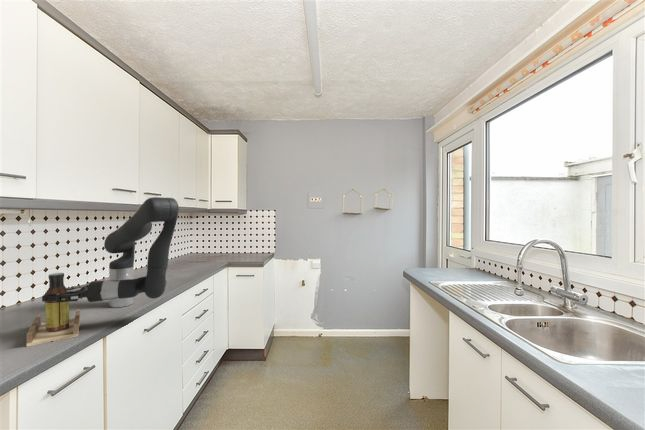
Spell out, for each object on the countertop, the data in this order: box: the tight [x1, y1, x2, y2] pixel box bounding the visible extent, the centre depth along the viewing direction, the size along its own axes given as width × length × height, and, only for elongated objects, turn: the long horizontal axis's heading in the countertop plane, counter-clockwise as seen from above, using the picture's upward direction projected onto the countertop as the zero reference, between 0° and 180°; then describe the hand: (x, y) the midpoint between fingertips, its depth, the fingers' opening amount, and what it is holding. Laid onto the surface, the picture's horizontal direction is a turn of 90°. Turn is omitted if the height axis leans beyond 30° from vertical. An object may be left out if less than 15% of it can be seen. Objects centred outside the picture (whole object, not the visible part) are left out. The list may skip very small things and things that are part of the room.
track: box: [26, 308, 81, 347], centre depth 102 cm, size 20×12×4 cm, turn 39°
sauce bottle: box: [44, 272, 70, 332], centre depth 101 cm, size 6×6×20 cm
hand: (48, 295), depth 100 cm, fingers open, 6 cm apart
